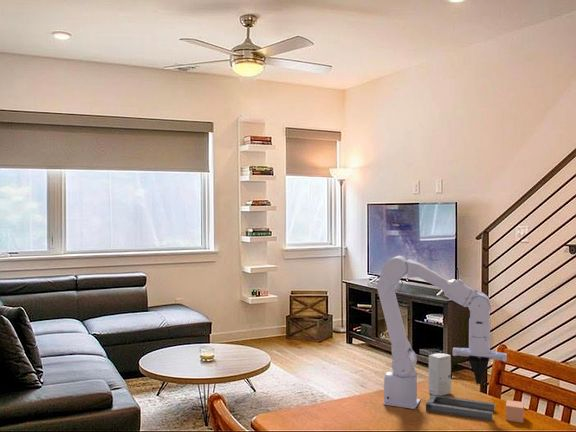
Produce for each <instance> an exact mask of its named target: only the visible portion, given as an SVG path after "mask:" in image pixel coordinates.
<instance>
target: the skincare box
mask: <svg viewBox="0 0 576 432" xmlns="http://www.w3.org/2000/svg"><path fill="white" fill-rule="evenodd" d="M451 360H452V357H451V354H447V353H443V352H437V353H433V354H428V394H431V395H439V396H446V395H449V394H451V393H452V381H451V380H452V361H451Z"/></svg>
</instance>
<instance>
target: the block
mask: <svg viewBox="0 0 576 432" xmlns="http://www.w3.org/2000/svg"><path fill="white" fill-rule="evenodd" d="M524 405H525V403H524V402H523V401H518V400H511V399H507V400H506V403H505V421H509V422H515V423H522V424H523V423H524V418H525V414H524V413H525V411H524V410H525V406H524Z"/></svg>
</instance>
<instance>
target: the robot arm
mask: <svg viewBox="0 0 576 432" xmlns="http://www.w3.org/2000/svg"><path fill="white" fill-rule="evenodd" d="M406 275H407V276H406ZM405 276H406V278H407V279H408V278H419V279H421V280H423V281H425V282H426V283H429V284H431V285H433V286H435V287H436V288H438V289H441V290H442V291H443V294H444V295H443V296H444V297H446V298H448V299H450V300H452V301H453V302H454V303H456V304H458V305H461V306H462V307H464V308H468V310H469V319H468V347H453V348H452V356H453V357H458V356H461V357H468V363H469V365H470V366H471V369H472V371H473V374H474V378H475V383H476V385H482V383H483V377H484V373H485V371H486V369H487V366H488V364H489V362H490V360H495V361H502V362H505V363H506V362H507V359H508V358H507V357H508V356H507V355H508V354H507V353H506V352H500V351H495V350H492V349H491V320H490V317H491V314H490V311H491V307H492V306H491V300H490V298H489V297H488V295H487V294H485V293H484V292H483V291H479V289H478V288H472V287H470V286H469V285H466V284H465V283H464V281H463V280H462V279H460V278H459V279H458V280H457V279H455V278H453V279H446V278H445V277H443V275H440V274H439V273H437V272H435V271H433V270H432V269H430V268H428V267H427V266H424V265H423V264H421V263H419V262H418V261H416V260H414V259H411V258H407V257H406V255H405V256H404V255H396V256H394V257H392V258H390V259H388V260H387V261H386V263H384V265H383V266H382V267H381V272H380V275H379V279H378V281H377V284H376V289H377V294H378V297H379V301H380V305H381V308H382V311H383V317H384V320H385V324H386V327H387V332H388V336H389V340H390V343H391V356H392V360H391V368H392V371H386V373H385V374H384V379H383V405H384V406H385V405H386V406H393V407H398V408H404V409H405V408H406V409H410V410H416V408H417V407H418V406H419V403H420V402H421V398H418V397H417V396H418V373H417V371H416V369H415V366H416V365H417V362H418V357H417V356H418V355H417V354H416V352H415V351H414V350H413V348H412V345H411V343H410V341H409V340H408V336H407V333H406V329H405V325H404V321H403V317H402V313H401V310H400V306H399V303H398V298H397V295H396V292H395V291H396V290H395V288H396V287H397V285H398V284H399V282H400V281H401V279H402V278H404V277H405Z"/></svg>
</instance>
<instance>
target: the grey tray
mask: <svg viewBox="0 0 576 432" xmlns="http://www.w3.org/2000/svg"><path fill="white" fill-rule="evenodd" d="M495 409H496V403H494V402H490V401H489V402H488V401H481V400H474V399H466V398H459V397H454V396H446V395H441V396H439V395H433V394H431V395H430V397H429V398H428V399H427V401H426V403H425V411H426V412H431V413H437V414H442V415H443V414H445V415H449V416H450V415H451V416H458V417H463V418H464V417H465V418H469V419H477V420H483V421H490V422H493V417H494V416H493V415H494V414H493V413H494V412H495V411H496V410H495Z"/></svg>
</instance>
